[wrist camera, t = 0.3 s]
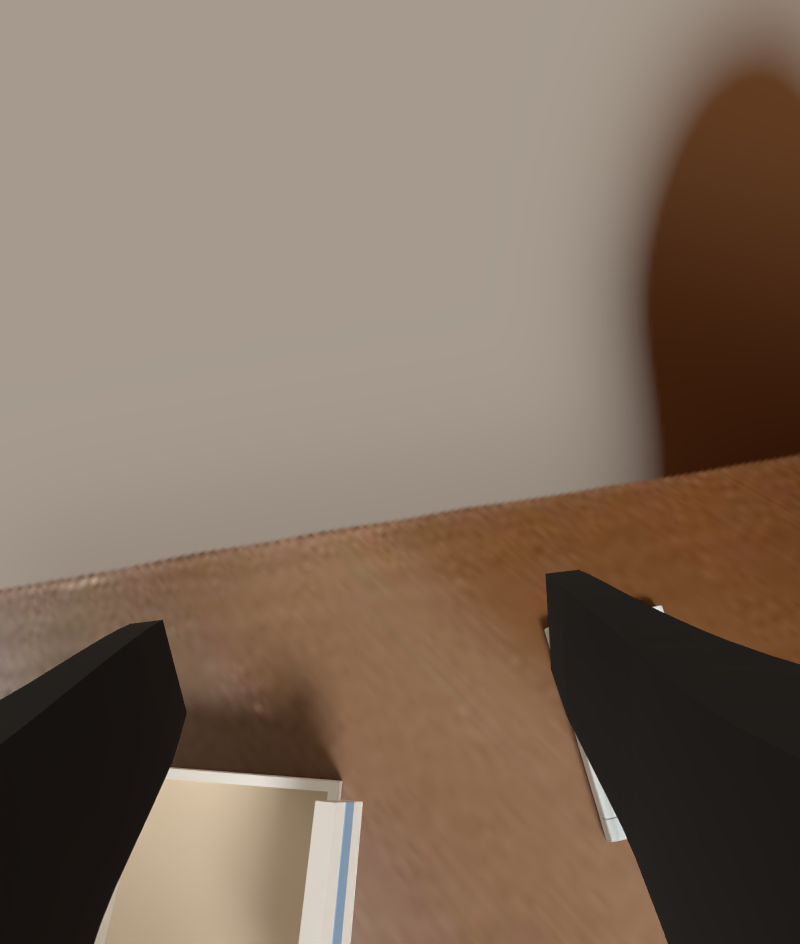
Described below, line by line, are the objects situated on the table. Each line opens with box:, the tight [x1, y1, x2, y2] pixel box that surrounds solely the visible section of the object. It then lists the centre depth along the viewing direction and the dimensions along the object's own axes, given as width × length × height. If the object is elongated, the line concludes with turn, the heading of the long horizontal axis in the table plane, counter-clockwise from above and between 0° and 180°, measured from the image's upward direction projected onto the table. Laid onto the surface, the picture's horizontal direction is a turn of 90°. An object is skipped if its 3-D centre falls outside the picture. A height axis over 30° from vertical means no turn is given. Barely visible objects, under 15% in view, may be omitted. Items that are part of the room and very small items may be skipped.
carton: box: [94, 767, 342, 944], centre depth 30 cm, size 14×12×4 cm
